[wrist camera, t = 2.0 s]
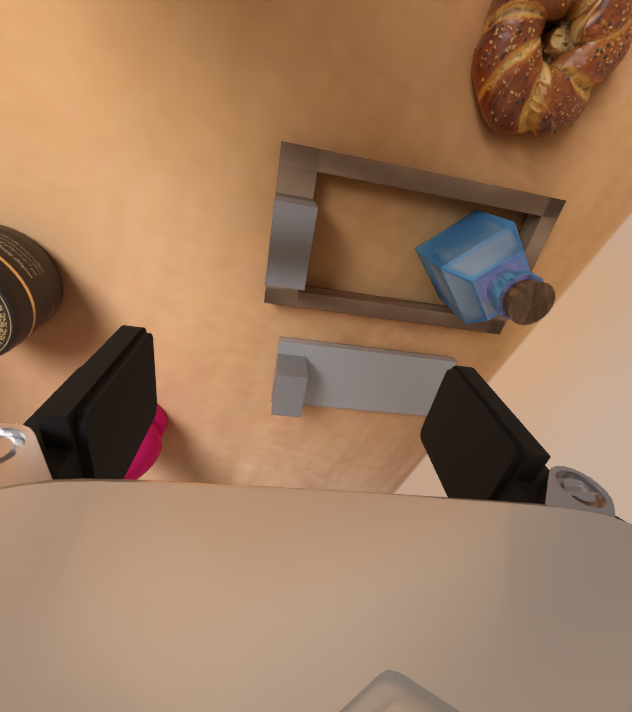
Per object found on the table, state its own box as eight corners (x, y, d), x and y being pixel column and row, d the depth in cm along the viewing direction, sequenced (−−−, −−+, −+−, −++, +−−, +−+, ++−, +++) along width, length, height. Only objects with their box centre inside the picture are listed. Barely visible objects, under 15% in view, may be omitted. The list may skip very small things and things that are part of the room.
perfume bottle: (496, 265, 34) (585, 314, 24) (439, 298, 36) (501, 358, 26) (476, 209, 32) (568, 239, 21) (415, 248, 33) (474, 293, 23)
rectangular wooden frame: (281, 141, 27) (280, 139, 21) (550, 197, 31) (613, 209, 25) (265, 294, 34) (261, 325, 28) (489, 325, 38) (528, 359, 32)
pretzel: (572, -118, 22) (622, -164, 19) (646, 26, 26) (697, 9, 23) (434, 70, 26) (455, 58, 23) (516, 169, 30) (543, 171, 27)
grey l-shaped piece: (279, 336, 37) (279, 361, 32) (453, 357, 40) (473, 382, 35) (271, 396, 41) (269, 425, 36) (429, 411, 44) (445, 439, 39)
